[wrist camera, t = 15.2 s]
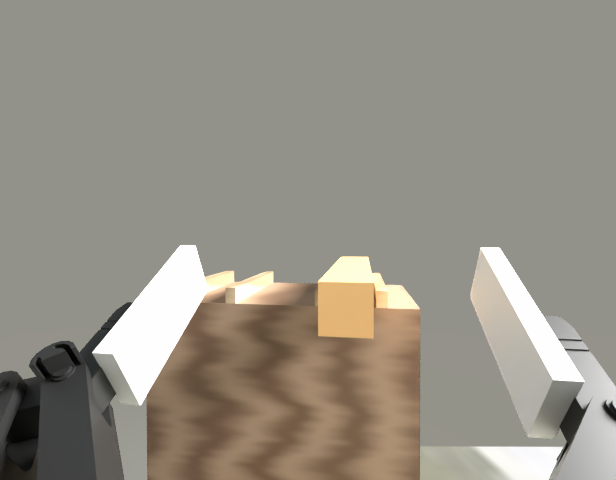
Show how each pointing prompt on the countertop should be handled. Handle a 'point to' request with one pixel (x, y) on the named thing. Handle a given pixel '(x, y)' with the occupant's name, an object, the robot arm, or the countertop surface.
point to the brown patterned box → (287, 389)
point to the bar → (347, 300)
